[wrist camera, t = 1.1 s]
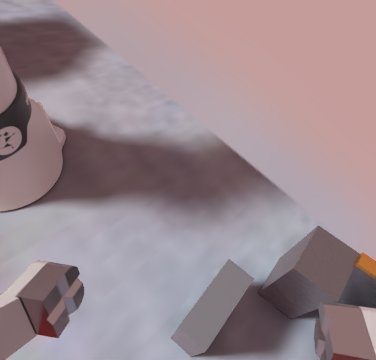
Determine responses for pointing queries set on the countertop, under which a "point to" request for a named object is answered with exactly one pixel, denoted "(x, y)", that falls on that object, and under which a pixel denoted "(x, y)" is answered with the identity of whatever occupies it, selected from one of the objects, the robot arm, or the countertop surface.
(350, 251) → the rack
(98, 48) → the countertop surface
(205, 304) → the grey block
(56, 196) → the countertop surface
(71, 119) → the countertop surface
